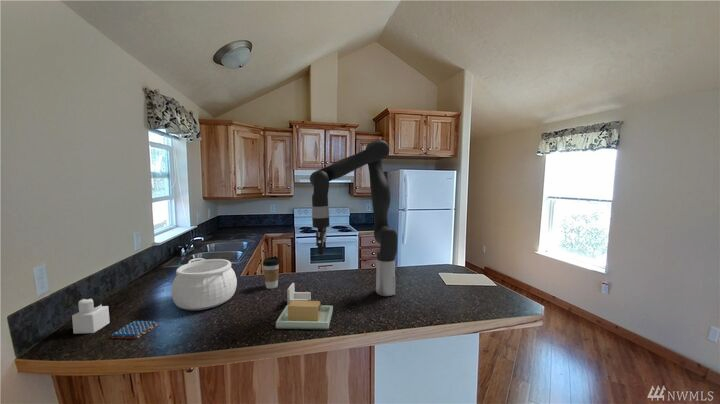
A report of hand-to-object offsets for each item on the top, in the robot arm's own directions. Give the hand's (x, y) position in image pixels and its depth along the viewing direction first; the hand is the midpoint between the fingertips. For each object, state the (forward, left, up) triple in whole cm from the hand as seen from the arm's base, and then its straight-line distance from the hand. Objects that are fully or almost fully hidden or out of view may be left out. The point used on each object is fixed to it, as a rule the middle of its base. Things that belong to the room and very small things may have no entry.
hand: (322, 251), depth 120 cm
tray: (+5, +13, -24) cm, 28 cm away
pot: (+56, -3, -25) cm, 61 cm away
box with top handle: (+5, +13, -24) cm, 28 cm away
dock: (+11, -1, -24) cm, 26 cm away
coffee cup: (+31, -20, -25) cm, 44 cm away
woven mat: (+67, +23, -25) cm, 75 cm away
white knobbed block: (+85, +22, -25) cm, 91 cm away
